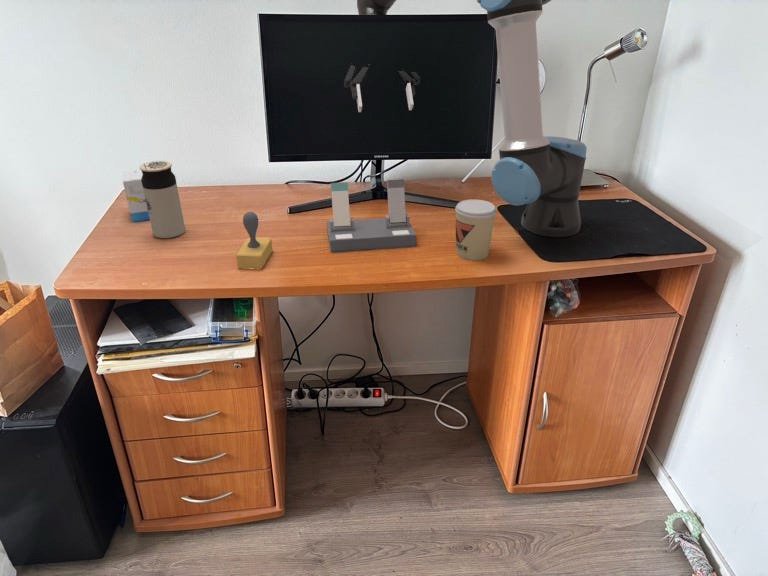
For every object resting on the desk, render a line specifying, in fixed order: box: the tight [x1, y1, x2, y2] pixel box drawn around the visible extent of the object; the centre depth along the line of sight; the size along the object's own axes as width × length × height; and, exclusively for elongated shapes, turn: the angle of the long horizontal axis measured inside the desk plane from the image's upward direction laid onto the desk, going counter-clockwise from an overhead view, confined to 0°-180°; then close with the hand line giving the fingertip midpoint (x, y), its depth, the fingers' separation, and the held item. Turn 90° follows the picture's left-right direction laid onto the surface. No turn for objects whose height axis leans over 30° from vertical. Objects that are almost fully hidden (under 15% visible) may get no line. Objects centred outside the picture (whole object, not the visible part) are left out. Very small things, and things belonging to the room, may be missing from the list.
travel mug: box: [139, 160, 186, 239], centre depth 142 cm, size 8×8×18 cm
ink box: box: [122, 169, 150, 223], centre depth 154 cm, size 8×8×12 cm
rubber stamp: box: [235, 211, 273, 270], centre depth 130 cm, size 10×6×12 cm, turn 176°
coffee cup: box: [454, 199, 497, 261], centre depth 133 cm, size 9×9×12 cm
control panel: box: [326, 213, 417, 253], centre depth 141 cm, size 12×21×6 cm, turn 99°
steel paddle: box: [386, 178, 407, 224], centre depth 141 cm, size 2×4×11 cm, turn 99°
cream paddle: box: [330, 181, 351, 227], centre depth 139 cm, size 2×4×11 cm, turn 99°
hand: (386, 108), depth 147 cm, fingers open, 13 cm apart
